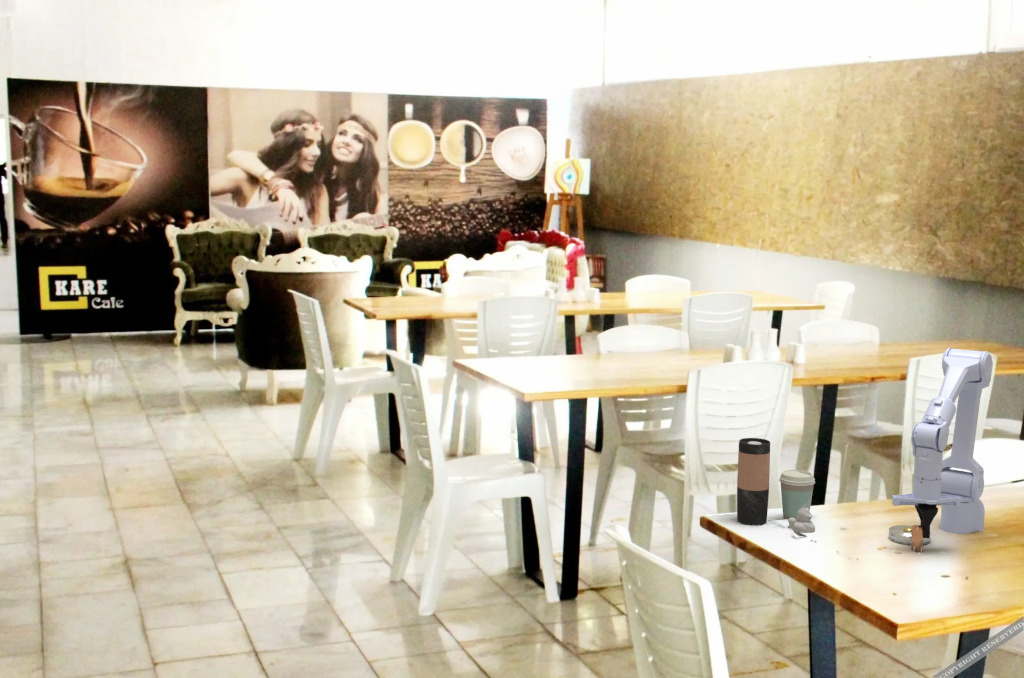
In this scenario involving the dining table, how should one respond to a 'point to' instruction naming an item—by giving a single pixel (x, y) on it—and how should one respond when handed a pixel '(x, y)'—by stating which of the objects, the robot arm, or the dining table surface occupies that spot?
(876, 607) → the dining table surface
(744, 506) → the travel mug
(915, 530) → the dial
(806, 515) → the grey animal figurine
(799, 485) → the coffee cup
